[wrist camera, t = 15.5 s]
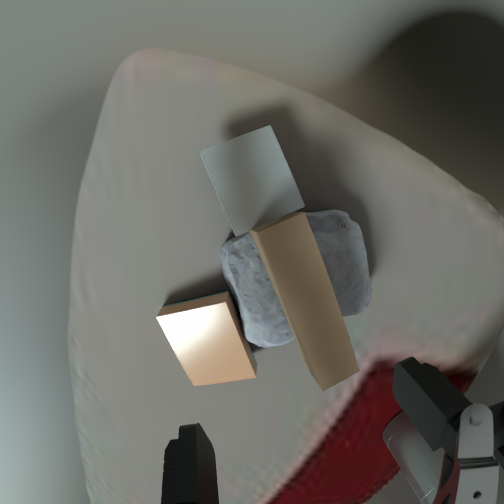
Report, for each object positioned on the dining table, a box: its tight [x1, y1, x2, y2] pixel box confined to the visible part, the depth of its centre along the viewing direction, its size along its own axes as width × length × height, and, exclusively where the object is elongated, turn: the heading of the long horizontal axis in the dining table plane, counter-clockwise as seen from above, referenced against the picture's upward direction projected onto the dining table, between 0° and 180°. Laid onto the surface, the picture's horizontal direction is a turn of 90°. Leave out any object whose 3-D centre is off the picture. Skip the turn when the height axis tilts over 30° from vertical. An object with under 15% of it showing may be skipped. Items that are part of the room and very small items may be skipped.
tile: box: [157, 291, 257, 386], centre depth 24 cm, size 6×2×8 cm
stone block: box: [221, 209, 373, 348], centre depth 24 cm, size 12×5×10 cm
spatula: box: [200, 125, 359, 391], centre depth 19 cm, size 5×18×4 cm, turn 22°
